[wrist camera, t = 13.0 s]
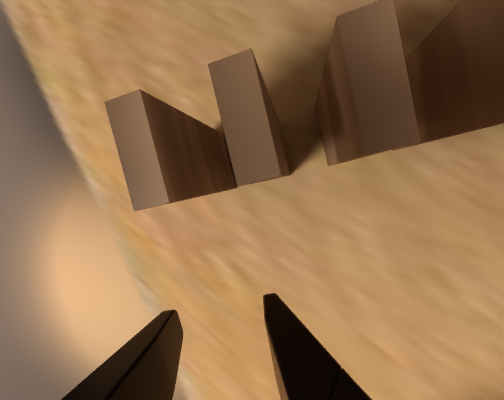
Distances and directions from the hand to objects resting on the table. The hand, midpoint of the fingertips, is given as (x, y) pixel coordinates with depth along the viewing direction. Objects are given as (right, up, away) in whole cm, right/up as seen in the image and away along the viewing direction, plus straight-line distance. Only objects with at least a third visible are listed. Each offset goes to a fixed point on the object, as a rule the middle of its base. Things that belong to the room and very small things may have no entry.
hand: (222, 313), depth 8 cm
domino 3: (+7, +9, +9) cm, 14 cm away
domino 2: (+3, +8, +10) cm, 13 cm away
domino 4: (+11, +9, +8) cm, 17 cm away
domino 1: (-2, +7, +11) cm, 13 cm away
